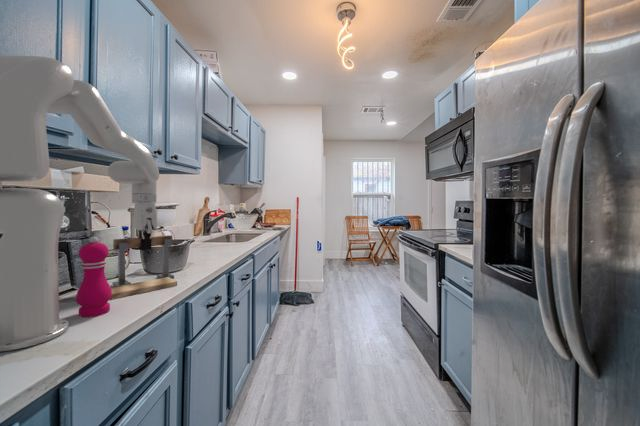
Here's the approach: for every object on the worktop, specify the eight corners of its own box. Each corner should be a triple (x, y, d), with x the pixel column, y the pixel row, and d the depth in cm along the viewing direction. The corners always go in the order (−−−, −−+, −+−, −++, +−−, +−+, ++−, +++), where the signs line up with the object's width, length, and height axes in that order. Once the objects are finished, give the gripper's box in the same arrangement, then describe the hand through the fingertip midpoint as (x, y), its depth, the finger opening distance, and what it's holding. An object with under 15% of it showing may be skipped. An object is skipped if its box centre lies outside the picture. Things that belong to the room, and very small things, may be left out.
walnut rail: (115, 249, 91) (115, 240, 91) (113, 248, 92) (113, 239, 92) (172, 244, 104) (172, 235, 104) (169, 243, 106) (169, 235, 106)
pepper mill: (119, 308, 74) (118, 235, 73) (94, 319, 66) (93, 238, 66) (95, 306, 74) (94, 234, 74) (68, 317, 67) (66, 238, 67)
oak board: (97, 302, 78) (97, 297, 78) (91, 295, 83) (91, 290, 83) (177, 285, 94) (177, 281, 94) (168, 281, 100) (168, 277, 100)
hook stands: (117, 288, 90) (116, 243, 90) (112, 285, 94) (112, 241, 93) (174, 278, 104) (174, 238, 103) (168, 275, 108) (168, 237, 107)
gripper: (163, 199, 95) (164, 250, 96) (148, 199, 106) (148, 245, 106) (139, 198, 90) (139, 253, 90) (125, 198, 100) (126, 248, 101)
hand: (144, 248), depth 98 cm, fingers closed on walnut rail, 2 cm apart
